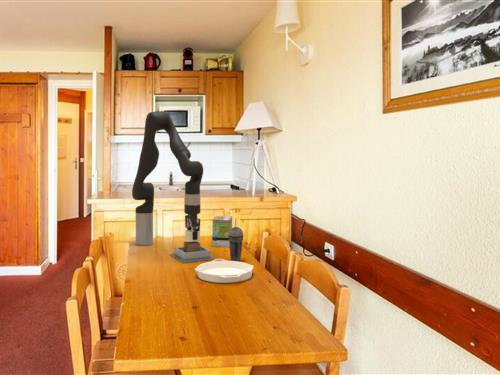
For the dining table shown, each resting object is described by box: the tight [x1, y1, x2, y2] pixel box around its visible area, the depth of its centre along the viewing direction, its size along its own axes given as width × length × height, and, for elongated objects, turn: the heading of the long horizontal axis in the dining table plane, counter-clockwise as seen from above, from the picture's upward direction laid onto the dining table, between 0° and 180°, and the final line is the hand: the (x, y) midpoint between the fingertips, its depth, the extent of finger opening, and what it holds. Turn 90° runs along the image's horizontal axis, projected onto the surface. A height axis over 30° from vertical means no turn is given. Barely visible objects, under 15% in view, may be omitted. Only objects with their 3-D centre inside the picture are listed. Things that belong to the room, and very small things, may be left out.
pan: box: [194, 258, 255, 284], centre depth 180 cm, size 24×27×4 cm
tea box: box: [211, 215, 233, 248], centre depth 241 cm, size 15×10×15 cm
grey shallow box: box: [169, 245, 216, 264], centre depth 210 cm, size 18×16×4 cm
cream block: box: [184, 229, 201, 242], centre depth 210 cm, size 6×6×4 cm
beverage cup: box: [228, 217, 245, 262], centre depth 205 cm, size 7×7×20 cm
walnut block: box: [183, 241, 201, 253], centre depth 210 cm, size 6×6×6 cm
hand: (192, 238), depth 210 cm, fingers closed on cream block, 6 cm apart
